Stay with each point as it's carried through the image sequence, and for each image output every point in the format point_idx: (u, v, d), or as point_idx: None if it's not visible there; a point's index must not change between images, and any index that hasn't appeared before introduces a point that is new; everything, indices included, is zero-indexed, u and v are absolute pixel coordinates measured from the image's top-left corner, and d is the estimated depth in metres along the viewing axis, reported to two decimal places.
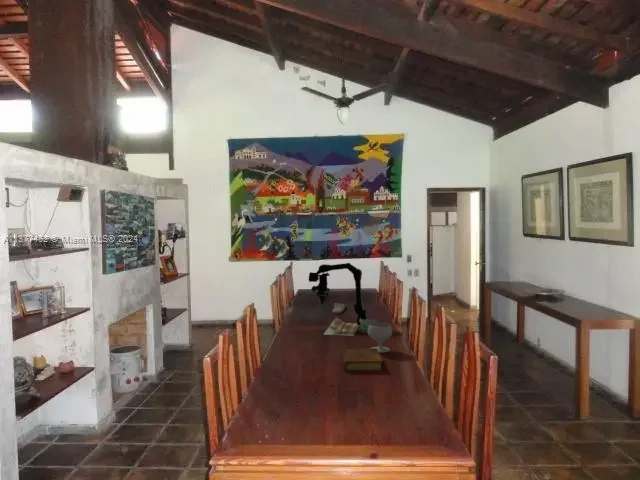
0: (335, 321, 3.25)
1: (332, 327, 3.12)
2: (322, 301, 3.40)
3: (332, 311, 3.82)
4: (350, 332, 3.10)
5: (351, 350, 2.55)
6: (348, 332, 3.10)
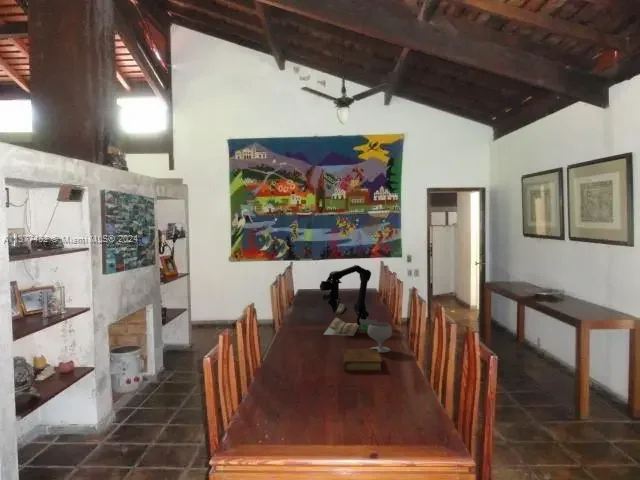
0: (335, 321, 3.25)
1: (332, 327, 3.12)
2: (334, 310, 3.26)
3: None
4: (350, 332, 3.10)
5: (351, 350, 2.55)
6: (348, 332, 3.10)
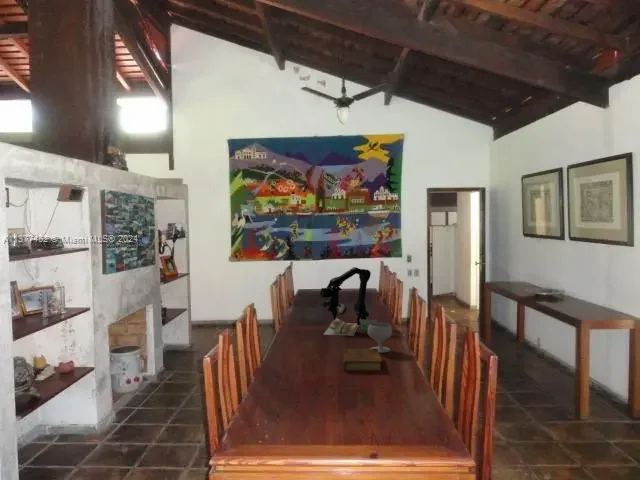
0: (335, 321, 3.25)
1: (332, 327, 3.12)
2: (335, 316, 3.29)
3: None
4: (350, 332, 3.10)
5: (351, 350, 2.55)
6: (348, 332, 3.10)
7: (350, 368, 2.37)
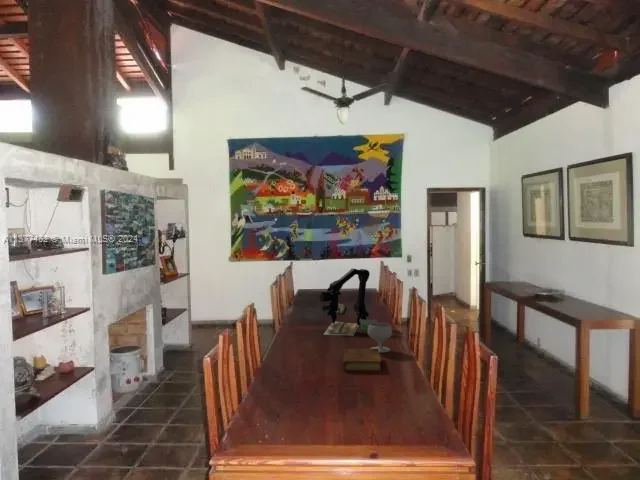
0: (332, 324, 3.26)
1: (330, 330, 3.13)
2: (334, 320, 3.29)
3: None
4: (350, 332, 3.10)
5: (351, 350, 2.55)
6: (348, 332, 3.10)
7: (350, 368, 2.37)
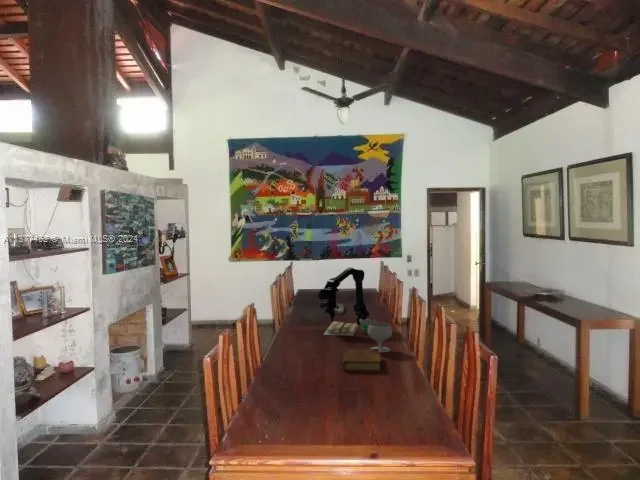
0: (332, 324, 3.26)
1: (330, 330, 3.13)
2: (332, 318, 3.20)
3: None
4: (350, 332, 3.10)
5: (352, 350, 2.55)
6: (348, 332, 3.10)
7: (349, 368, 2.37)
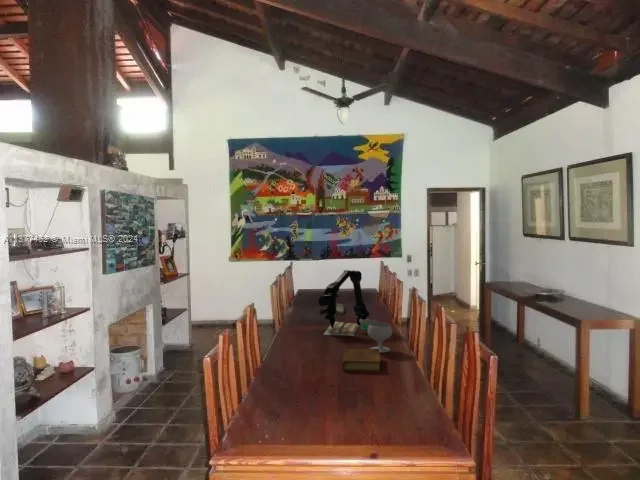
0: None
1: (330, 330, 3.13)
2: (332, 324, 3.17)
3: None
4: (350, 332, 3.10)
5: (352, 350, 2.55)
6: (348, 332, 3.10)
7: (349, 368, 2.37)
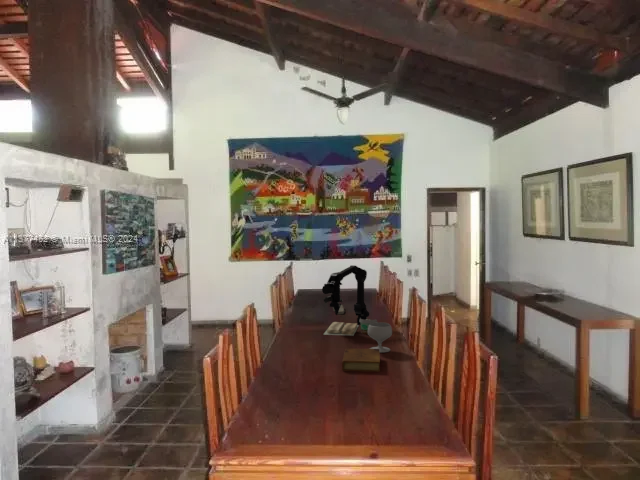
0: (332, 325, 3.26)
1: (330, 331, 3.13)
2: (336, 311, 3.21)
3: None
4: (350, 332, 3.10)
5: (352, 350, 2.55)
6: (348, 332, 3.10)
7: (348, 368, 2.37)
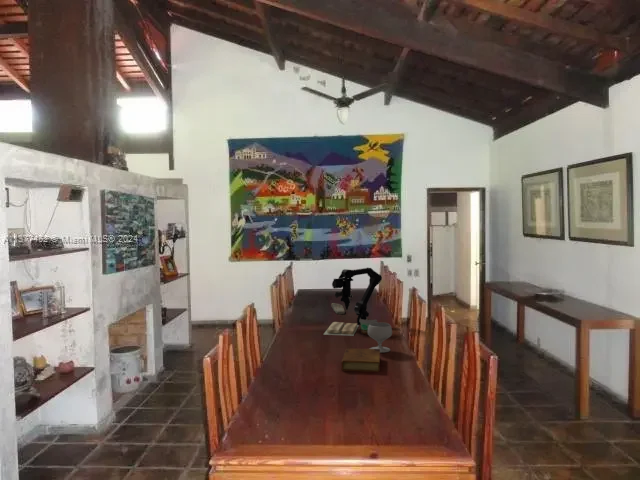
0: (332, 325, 3.26)
1: (330, 331, 3.13)
2: (347, 306, 3.33)
3: (335, 311, 3.81)
4: (350, 332, 3.10)
5: (353, 350, 2.55)
6: (348, 332, 3.10)
7: (348, 368, 2.37)
